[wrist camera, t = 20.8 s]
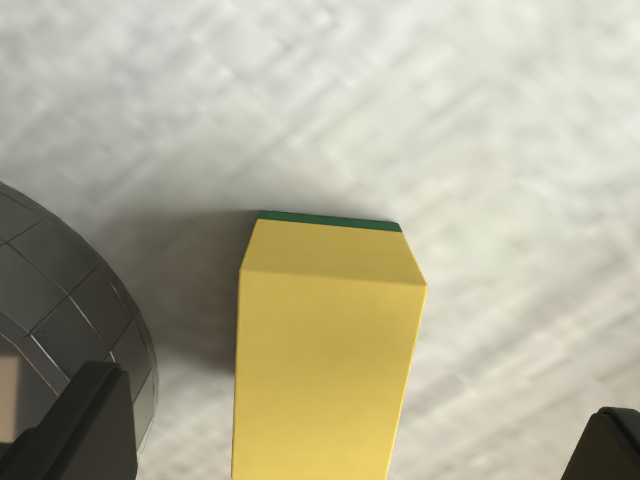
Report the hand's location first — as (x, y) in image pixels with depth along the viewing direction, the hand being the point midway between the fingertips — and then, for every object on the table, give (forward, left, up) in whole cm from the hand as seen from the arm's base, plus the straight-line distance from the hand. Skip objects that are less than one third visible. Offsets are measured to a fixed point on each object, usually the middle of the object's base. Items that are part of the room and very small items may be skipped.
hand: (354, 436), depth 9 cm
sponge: (+1, -1, -7) cm, 7 cm away
